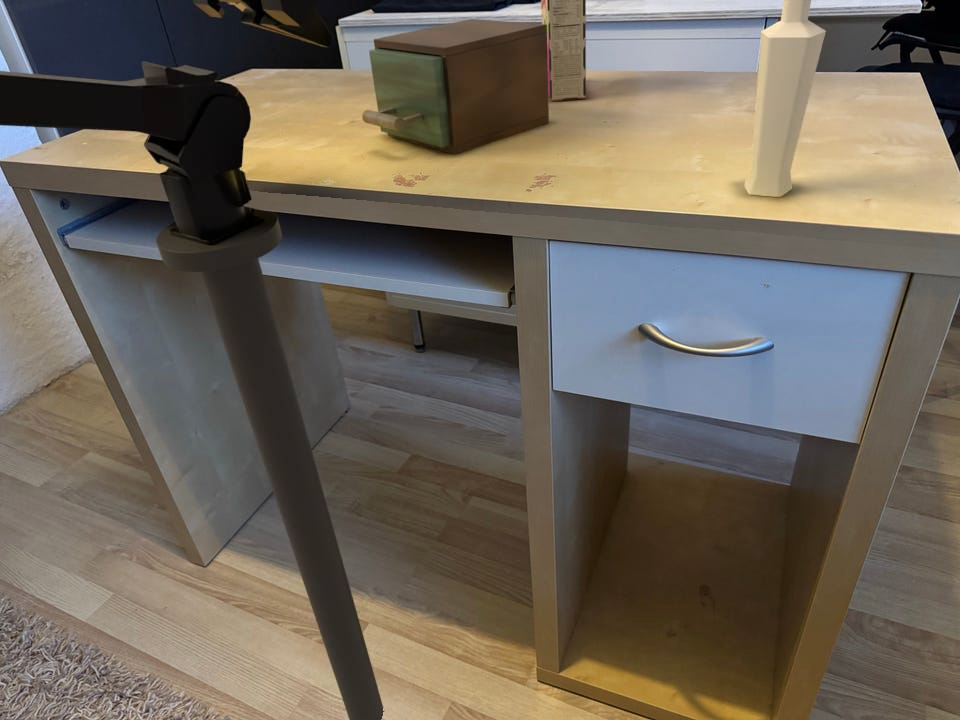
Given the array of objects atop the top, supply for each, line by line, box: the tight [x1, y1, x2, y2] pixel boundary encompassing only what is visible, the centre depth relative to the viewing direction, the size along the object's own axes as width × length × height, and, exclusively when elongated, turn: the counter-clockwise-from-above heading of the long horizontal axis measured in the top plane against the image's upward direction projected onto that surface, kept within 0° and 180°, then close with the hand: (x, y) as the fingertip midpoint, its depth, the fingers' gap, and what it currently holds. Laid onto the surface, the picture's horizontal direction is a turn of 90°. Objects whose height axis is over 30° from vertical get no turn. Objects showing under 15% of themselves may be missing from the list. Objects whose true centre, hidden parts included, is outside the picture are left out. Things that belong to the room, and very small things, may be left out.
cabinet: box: [373, 18, 550, 155], centre depth 78 cm, size 15×13×11 cm
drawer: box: [361, 48, 451, 148], centre depth 77 cm, size 17×11×9 cm, turn 132°
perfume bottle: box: [743, 0, 827, 198], centre depth 55 cm, size 5×4×15 cm
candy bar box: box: [540, 0, 587, 102], centre depth 89 cm, size 11×5×16 cm, turn 0°
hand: (329, 42), depth 66 cm, fingers closed
